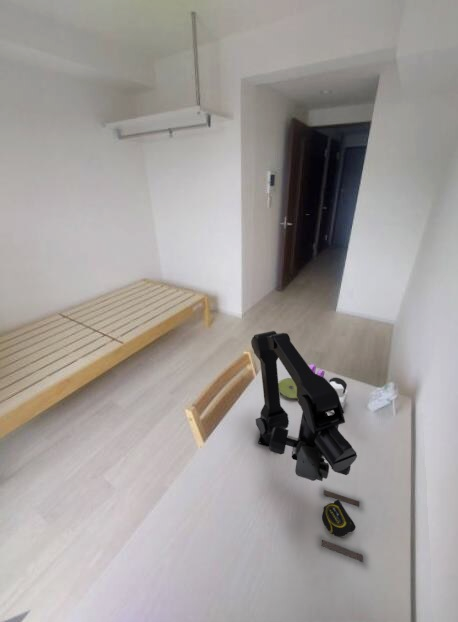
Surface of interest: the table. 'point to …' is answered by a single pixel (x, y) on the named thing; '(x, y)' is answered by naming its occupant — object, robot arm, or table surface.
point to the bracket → (320, 372)
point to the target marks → (336, 547)
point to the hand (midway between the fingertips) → (304, 468)
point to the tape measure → (337, 519)
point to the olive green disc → (288, 388)
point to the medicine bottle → (339, 389)
